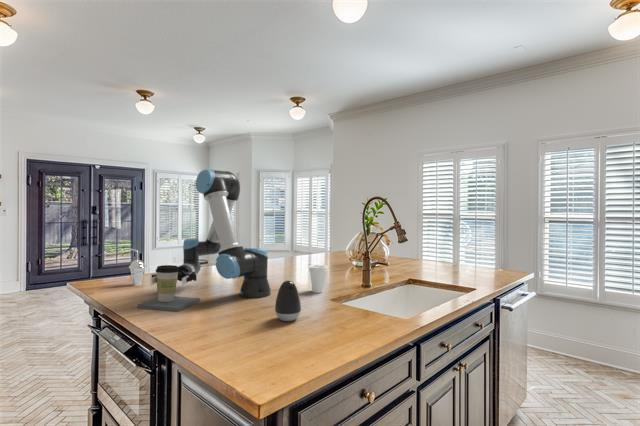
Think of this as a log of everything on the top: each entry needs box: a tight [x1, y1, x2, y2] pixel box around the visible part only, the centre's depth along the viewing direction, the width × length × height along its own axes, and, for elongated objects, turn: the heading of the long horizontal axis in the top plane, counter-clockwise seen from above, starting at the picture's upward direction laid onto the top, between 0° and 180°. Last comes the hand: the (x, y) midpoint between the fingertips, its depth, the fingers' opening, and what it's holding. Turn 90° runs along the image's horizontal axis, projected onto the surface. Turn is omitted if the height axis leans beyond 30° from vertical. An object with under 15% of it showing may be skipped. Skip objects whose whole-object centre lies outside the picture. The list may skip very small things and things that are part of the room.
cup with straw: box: [128, 248, 147, 287], centre depth 193 cm, size 8×9×20 cm
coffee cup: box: [155, 264, 179, 302], centre depth 156 cm, size 10×10×15 cm
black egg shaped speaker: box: [274, 280, 302, 322], centre depth 137 cm, size 10×10×15 cm
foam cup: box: [308, 264, 329, 294], centre depth 182 cm, size 10×9×13 cm
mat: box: [137, 295, 201, 312], centre depth 155 cm, size 20×16×2 cm
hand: (167, 281), depth 152 cm, fingers open, 13 cm apart
